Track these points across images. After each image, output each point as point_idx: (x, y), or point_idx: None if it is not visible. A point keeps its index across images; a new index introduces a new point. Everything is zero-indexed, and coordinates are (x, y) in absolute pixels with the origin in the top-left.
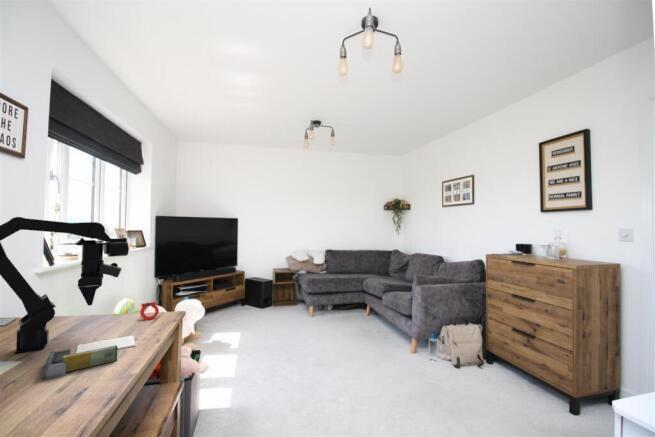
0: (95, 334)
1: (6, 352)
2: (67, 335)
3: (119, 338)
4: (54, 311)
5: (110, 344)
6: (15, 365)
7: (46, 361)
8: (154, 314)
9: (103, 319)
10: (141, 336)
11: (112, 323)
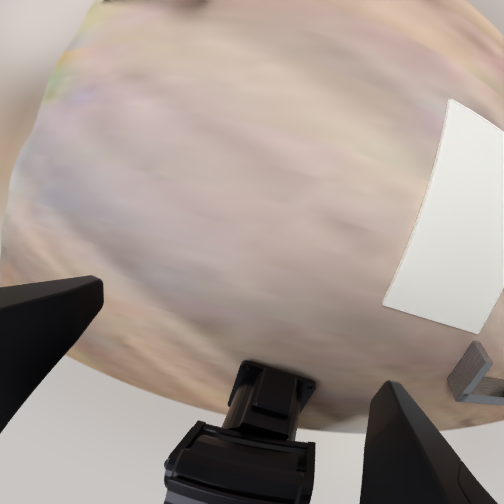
0: (263, 202)
1: None
2: (185, 286)
3: (446, 157)
4: (300, 486)
5: (484, 217)
6: None
7: (500, 404)
8: None
9: (66, 134)
10: (466, 80)
11: (137, 105)
